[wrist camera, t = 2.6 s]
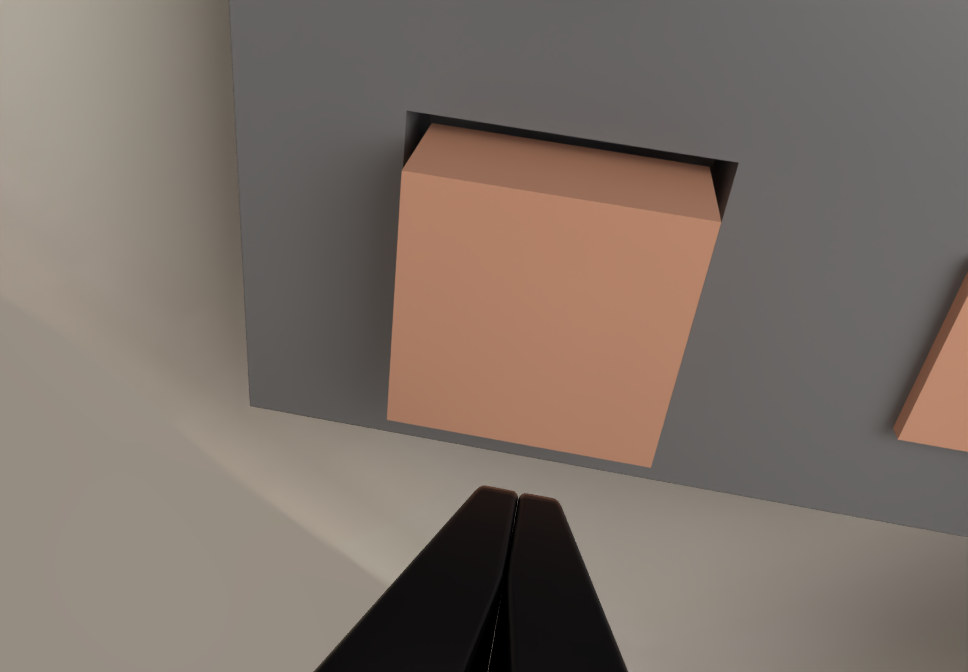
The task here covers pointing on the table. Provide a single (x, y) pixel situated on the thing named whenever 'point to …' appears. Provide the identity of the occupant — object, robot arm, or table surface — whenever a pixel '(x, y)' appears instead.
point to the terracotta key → (545, 290)
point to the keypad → (663, 135)
